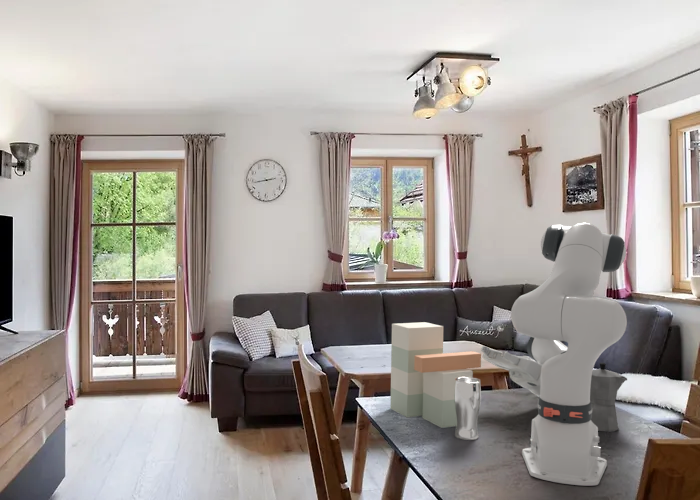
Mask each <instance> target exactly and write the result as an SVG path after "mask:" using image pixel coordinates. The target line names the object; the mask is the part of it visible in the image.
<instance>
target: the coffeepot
mask: <svg viewBox="0 0 700 500" xmlns="http://www.w3.org/2000/svg"><path fill="white" fill-rule="evenodd" d="M625 381H628V377H626V376H624V375H620V373H618V372H615V371H612V370H608V369H606V363H605V362H600V363H599V368H598V369H597V368H596V369H593V371H592V377H591V387H590V402H591V403H592V419H591V421H592V422H593V423H594V424H595V425H596V426H597V427H598V431H599V432H609V433H610V432H616V431H618V430H619V423H618V416H617V410H616V400H617V394H618V391H619V389H620V388H621V387H622V385H623V384H624V382H625Z"/></svg>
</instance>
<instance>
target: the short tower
mask: <svg viewBox="0 0 700 500" xmlns="http://www.w3.org/2000/svg"><path fill="white" fill-rule="evenodd" d="M473 372H474V371H473V370H471V369H470V368H468V369H457V370H446V371H435V372H424V373H423V416H422V419H423V420H426V421H427V422H429V423H432V424H434V425H435V426H437V427H439V428H441V429H444V428H451V427H456V425H457V419H456V412H455V405H454V386H455V378H458V377H472V378H474V373H473Z"/></svg>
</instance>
